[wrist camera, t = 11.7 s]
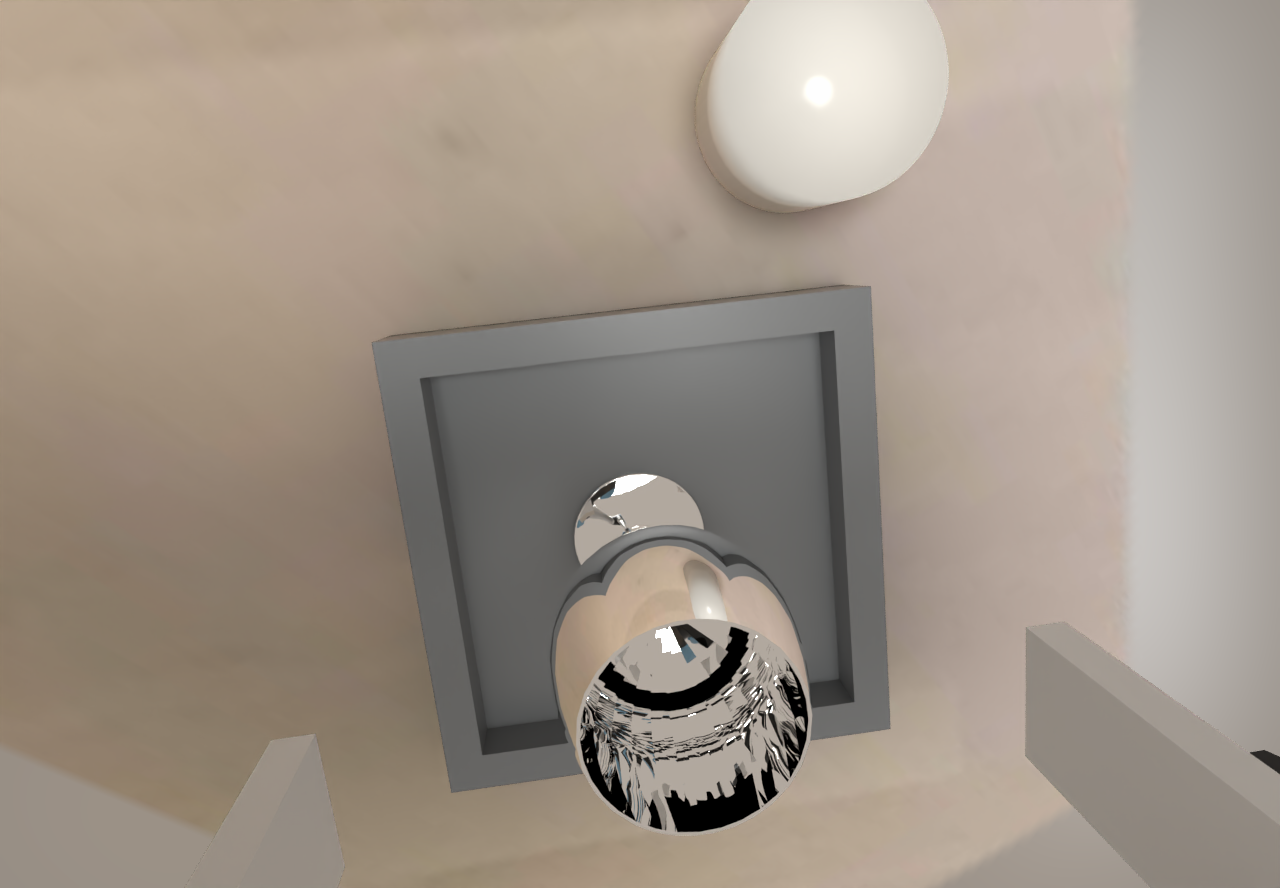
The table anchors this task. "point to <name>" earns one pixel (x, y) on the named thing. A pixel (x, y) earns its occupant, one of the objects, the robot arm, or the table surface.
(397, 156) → the table surface
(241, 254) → the table surface
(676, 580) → the wineglass
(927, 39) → the white pillar candle
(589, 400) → the tray
